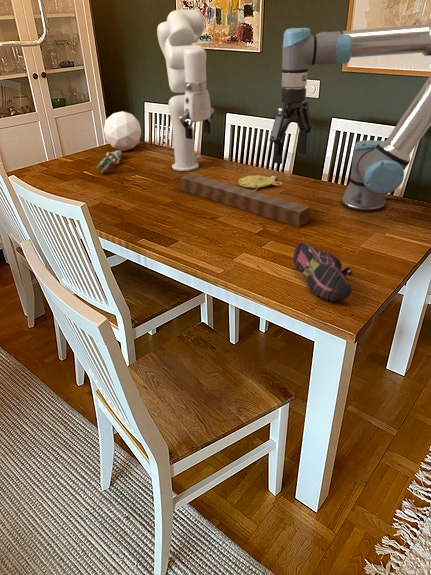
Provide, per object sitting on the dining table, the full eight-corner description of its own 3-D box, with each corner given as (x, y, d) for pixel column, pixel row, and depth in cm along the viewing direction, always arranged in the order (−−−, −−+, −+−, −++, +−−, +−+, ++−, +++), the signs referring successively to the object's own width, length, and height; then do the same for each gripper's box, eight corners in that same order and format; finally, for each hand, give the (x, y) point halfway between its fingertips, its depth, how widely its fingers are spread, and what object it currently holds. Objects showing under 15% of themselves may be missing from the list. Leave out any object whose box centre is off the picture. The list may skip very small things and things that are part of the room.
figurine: (101, 154, 197) (119, 141, 223) (91, 167, 200) (110, 152, 227) (114, 165, 199) (130, 151, 225) (103, 178, 203) (121, 162, 229)
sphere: (117, 161, 243) (97, 129, 240) (149, 144, 245) (129, 111, 242) (115, 152, 224) (93, 117, 222) (149, 133, 226) (128, 98, 224)
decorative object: (249, 169, 197) (291, 174, 187) (250, 175, 198) (291, 179, 189) (226, 183, 183) (269, 189, 173) (226, 189, 184) (269, 195, 174)
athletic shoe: (338, 290, 105) (377, 282, 109) (296, 227, 116) (333, 222, 121) (320, 318, 113) (358, 309, 118) (283, 256, 125) (319, 251, 129)
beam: (181, 190, 183) (181, 177, 180) (192, 186, 187) (191, 173, 184) (298, 227, 150) (300, 212, 147) (309, 221, 154) (310, 206, 151)
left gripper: (186, 92, 151) (189, 142, 161) (219, 84, 162) (220, 132, 171) (171, 89, 156) (174, 139, 165) (205, 82, 166) (206, 129, 176)
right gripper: (279, 94, 123) (277, 169, 135) (326, 82, 138) (320, 150, 150) (258, 92, 128) (257, 165, 139) (305, 81, 143) (301, 147, 154)
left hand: (198, 135), depth 168 cm, fingers open, 9 cm apart
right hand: (290, 158), depth 144 cm, fingers open, 13 cm apart
